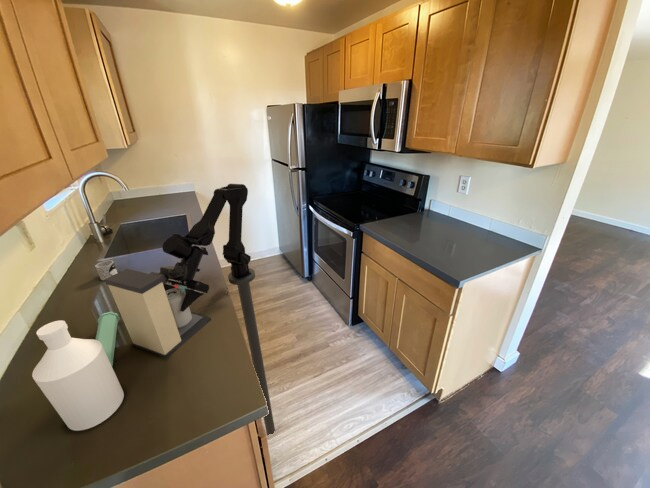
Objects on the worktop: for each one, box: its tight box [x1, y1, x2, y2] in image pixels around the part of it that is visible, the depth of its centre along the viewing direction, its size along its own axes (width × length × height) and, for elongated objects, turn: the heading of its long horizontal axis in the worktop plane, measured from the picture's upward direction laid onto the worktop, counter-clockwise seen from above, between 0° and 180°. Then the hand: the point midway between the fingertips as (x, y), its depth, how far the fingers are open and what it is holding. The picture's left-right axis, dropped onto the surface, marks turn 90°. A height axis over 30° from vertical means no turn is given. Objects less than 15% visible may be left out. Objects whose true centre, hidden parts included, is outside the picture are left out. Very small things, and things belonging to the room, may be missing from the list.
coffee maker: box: [103, 268, 212, 359], centre depth 86 cm, size 18×15×24 cm
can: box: [165, 288, 192, 328], centre depth 91 cm, size 8×8×12 cm
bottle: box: [31, 319, 125, 432], centre depth 63 cm, size 12×12×25 cm
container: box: [95, 311, 121, 367], centre depth 85 cm, size 6×6×25 cm
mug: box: [94, 259, 119, 281], centre depth 127 cm, size 10×7×7 cm
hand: (171, 308), depth 89 cm, fingers open, 9 cm apart
